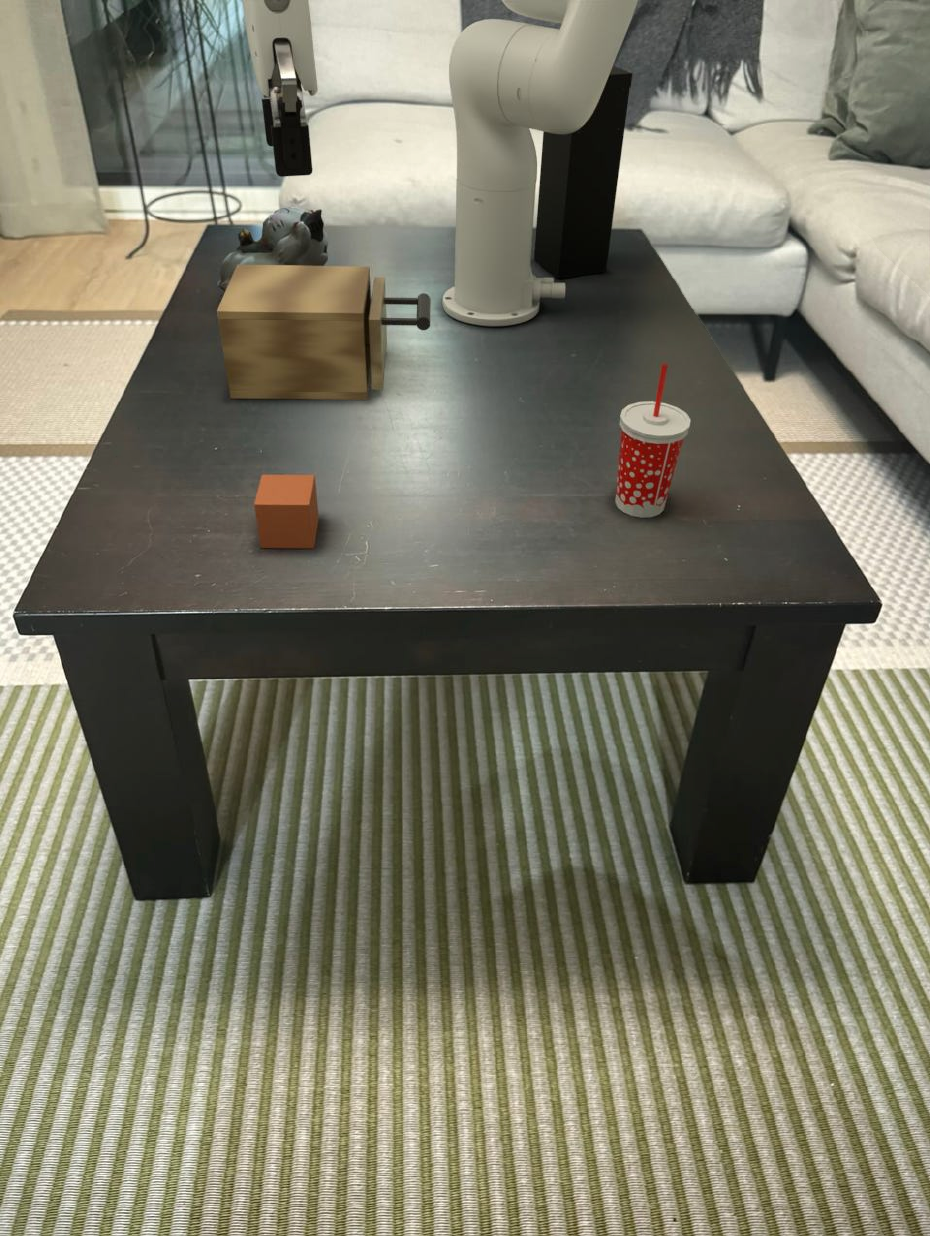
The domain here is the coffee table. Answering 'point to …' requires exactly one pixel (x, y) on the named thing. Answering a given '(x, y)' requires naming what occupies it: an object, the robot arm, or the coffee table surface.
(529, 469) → the coffee table surface
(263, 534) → the block
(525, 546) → the coffee table surface
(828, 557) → the coffee table surface
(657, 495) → the beverage cup
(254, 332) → the cabinet
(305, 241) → the lucky cat figurine
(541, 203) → the tall black pillar
